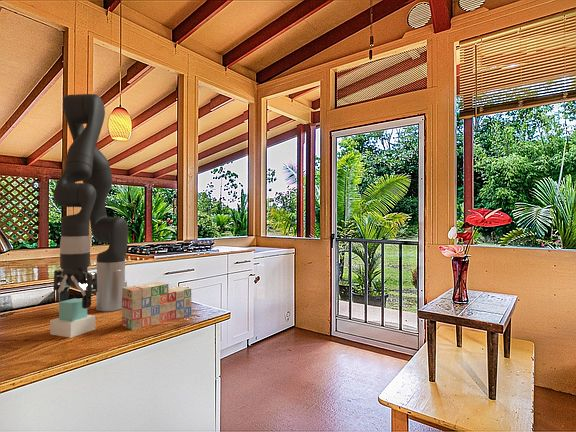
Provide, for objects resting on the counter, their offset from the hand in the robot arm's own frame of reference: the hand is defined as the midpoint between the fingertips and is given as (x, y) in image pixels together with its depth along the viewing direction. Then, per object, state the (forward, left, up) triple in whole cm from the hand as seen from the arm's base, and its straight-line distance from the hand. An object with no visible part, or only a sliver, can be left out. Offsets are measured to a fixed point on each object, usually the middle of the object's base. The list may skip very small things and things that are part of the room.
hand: (75, 306), depth 102 cm
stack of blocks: (-18, +15, -8) cm, 25 cm away
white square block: (0, 0, -7) cm, 7 cm away
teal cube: (0, 0, -3) cm, 3 cm away
